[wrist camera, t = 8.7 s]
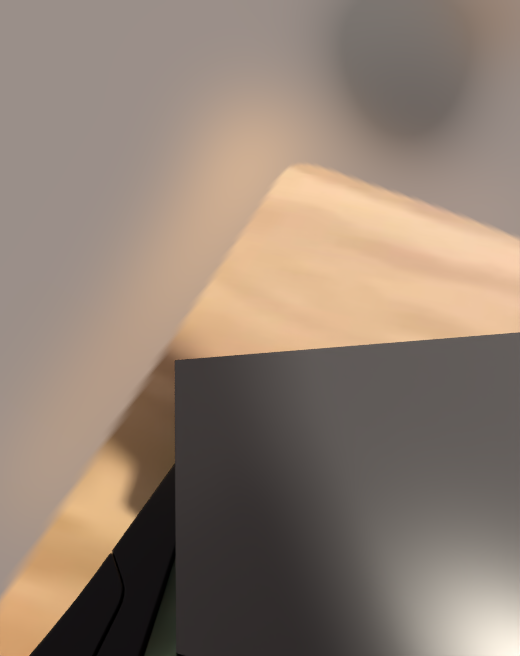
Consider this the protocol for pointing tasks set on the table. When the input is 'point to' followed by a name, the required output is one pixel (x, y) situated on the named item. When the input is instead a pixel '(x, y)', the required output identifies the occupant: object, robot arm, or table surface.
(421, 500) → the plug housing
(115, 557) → the robot arm
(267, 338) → the table surface
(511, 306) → the table surface
